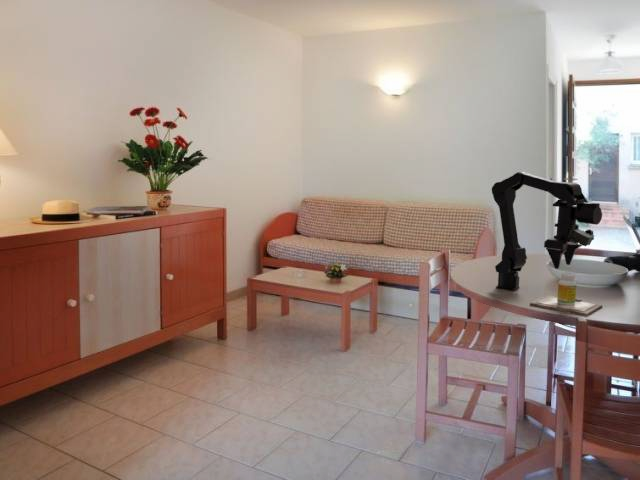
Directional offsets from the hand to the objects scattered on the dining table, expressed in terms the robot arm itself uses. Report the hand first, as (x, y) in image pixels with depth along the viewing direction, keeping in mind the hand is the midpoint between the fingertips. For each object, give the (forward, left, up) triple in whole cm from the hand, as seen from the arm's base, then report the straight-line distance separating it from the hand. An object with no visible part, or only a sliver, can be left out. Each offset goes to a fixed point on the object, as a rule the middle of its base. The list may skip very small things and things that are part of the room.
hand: (562, 266), depth 189 cm
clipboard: (+4, -7, -12) cm, 14 cm away
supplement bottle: (+4, -7, -11) cm, 14 cm away
